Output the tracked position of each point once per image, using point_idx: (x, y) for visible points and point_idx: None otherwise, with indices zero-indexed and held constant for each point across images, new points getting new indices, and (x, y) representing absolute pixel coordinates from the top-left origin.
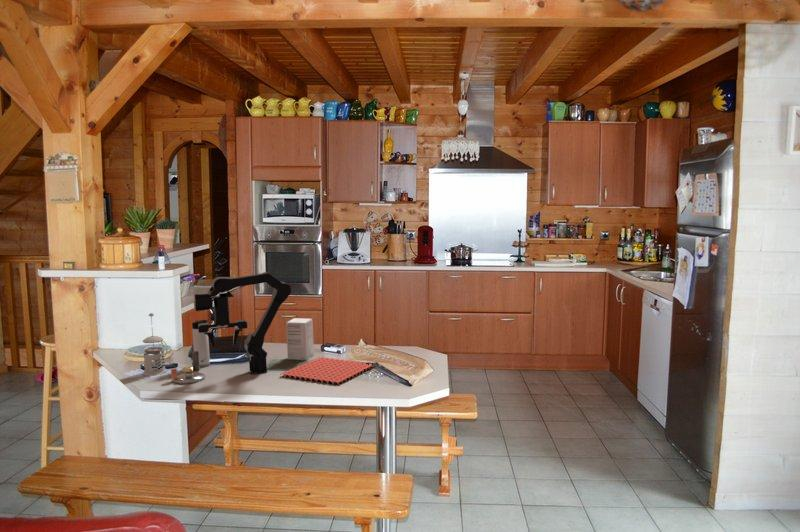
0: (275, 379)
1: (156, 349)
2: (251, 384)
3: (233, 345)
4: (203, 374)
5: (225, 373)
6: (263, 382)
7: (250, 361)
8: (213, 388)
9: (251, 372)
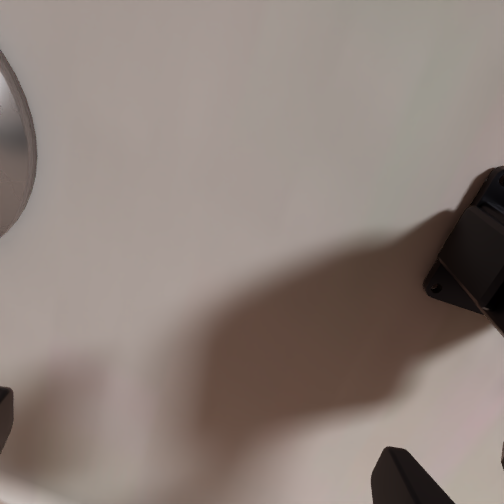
0: (472, 474)
1: None
2: (309, 484)
3: (379, 468)
4: (12, 126)
5: (245, 131)
6: None
7: (490, 311)
8: (76, 442)
9: (429, 293)
